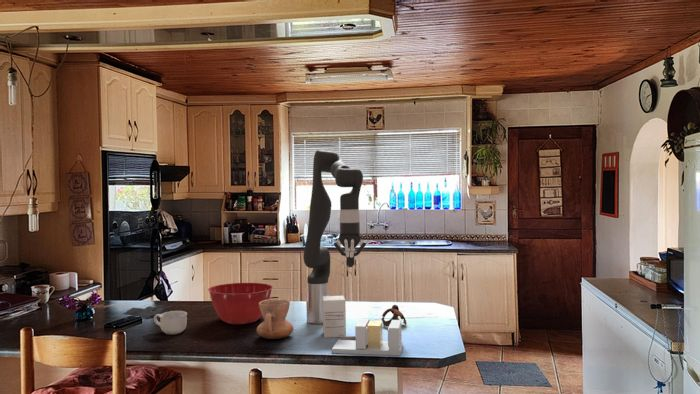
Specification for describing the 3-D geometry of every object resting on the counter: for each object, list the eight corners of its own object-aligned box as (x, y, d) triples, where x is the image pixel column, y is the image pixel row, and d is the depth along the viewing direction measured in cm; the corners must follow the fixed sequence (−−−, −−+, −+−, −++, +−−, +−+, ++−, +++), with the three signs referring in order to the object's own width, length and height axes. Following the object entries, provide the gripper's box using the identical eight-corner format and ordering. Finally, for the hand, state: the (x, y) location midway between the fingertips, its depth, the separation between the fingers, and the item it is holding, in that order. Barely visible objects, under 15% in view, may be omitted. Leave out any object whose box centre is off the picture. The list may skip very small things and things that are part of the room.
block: (367, 347, 192) (367, 325, 192) (370, 342, 199) (370, 320, 199) (380, 348, 191) (380, 325, 191) (382, 342, 198) (382, 321, 198)
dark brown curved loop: (408, 330, 225) (397, 319, 221) (389, 337, 229) (378, 327, 225) (408, 308, 234) (397, 297, 230) (390, 315, 238) (379, 305, 234)
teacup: (192, 330, 226) (192, 311, 226) (176, 337, 216) (175, 317, 216) (165, 328, 231) (164, 309, 231) (148, 334, 221) (147, 315, 221)
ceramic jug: (265, 330, 224) (265, 296, 224) (298, 332, 221) (298, 297, 221) (248, 342, 206) (248, 306, 206) (284, 344, 203) (283, 307, 203)
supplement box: (322, 332, 220) (322, 295, 220) (344, 331, 221) (343, 295, 220) (323, 338, 211) (322, 300, 211) (346, 337, 212) (345, 299, 211)
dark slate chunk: (141, 312, 265) (141, 302, 265) (174, 316, 255) (174, 306, 255) (115, 318, 252) (115, 308, 251) (149, 323, 242) (149, 312, 242)
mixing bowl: (257, 311, 260) (257, 279, 260) (284, 323, 236) (283, 288, 236) (200, 320, 244) (199, 286, 244) (222, 333, 221) (221, 296, 220)
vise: (331, 352, 191) (331, 326, 191) (338, 343, 203) (337, 318, 203) (400, 355, 187) (400, 328, 187) (403, 345, 199) (402, 320, 199)
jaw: (339, 348, 191) (338, 325, 191) (345, 338, 203) (344, 317, 203) (366, 349, 189) (366, 326, 189) (371, 339, 201) (370, 318, 201)
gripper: (368, 220, 205) (369, 265, 206) (334, 220, 208) (335, 265, 208) (365, 221, 198) (366, 268, 198) (330, 222, 200) (331, 268, 200)
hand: (350, 266), depth 203 cm, fingers closed
